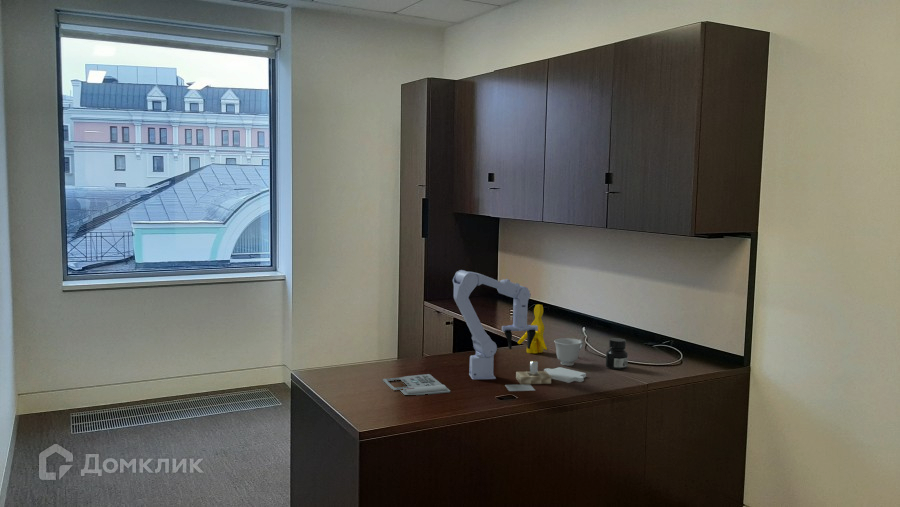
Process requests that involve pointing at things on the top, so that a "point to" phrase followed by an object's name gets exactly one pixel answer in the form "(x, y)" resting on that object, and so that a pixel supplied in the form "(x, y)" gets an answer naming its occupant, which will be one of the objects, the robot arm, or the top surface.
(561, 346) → the teacup
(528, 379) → the hole block
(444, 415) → the top surface
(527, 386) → the mat
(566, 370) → the mounting plate
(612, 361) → the ink bottle
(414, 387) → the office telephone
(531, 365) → the peg
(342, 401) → the top surface
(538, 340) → the figure statuette
